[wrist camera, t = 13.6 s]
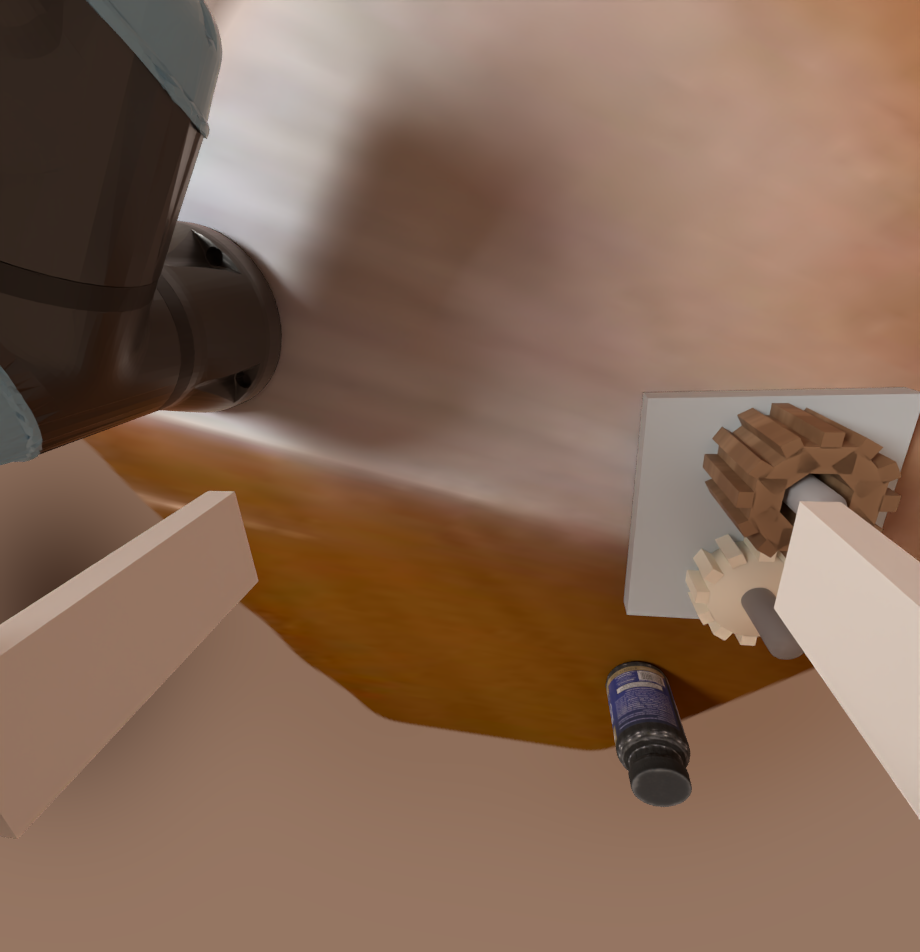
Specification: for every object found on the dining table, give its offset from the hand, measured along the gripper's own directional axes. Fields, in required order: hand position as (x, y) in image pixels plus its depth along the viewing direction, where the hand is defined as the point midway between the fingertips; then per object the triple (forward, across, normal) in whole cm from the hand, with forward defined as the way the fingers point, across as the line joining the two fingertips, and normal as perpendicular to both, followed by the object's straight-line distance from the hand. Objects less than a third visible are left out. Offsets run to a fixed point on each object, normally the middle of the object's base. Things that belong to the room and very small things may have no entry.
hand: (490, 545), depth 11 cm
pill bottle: (+29, +11, -33) cm, 45 cm away
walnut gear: (+27, +18, -8) cm, 33 cm away
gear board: (+29, +18, -13) cm, 36 cm away
